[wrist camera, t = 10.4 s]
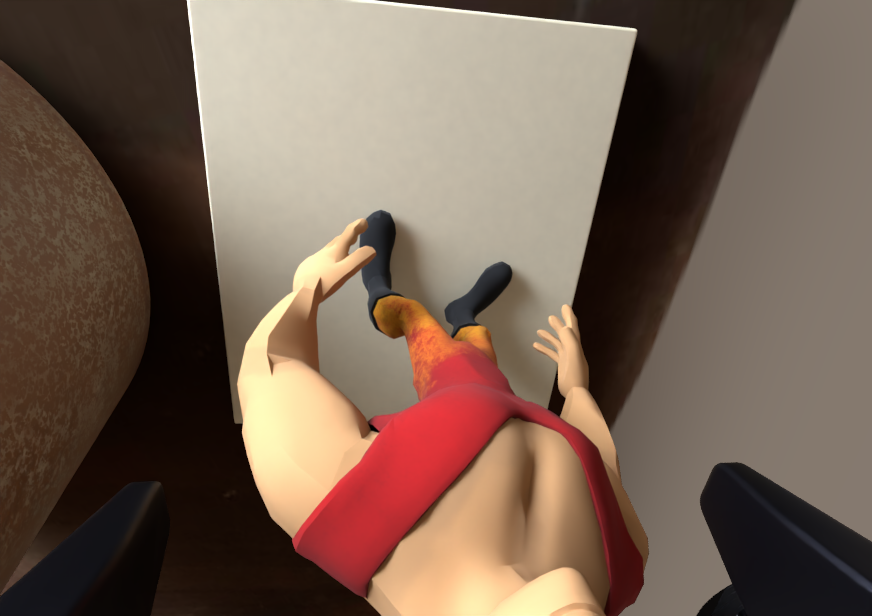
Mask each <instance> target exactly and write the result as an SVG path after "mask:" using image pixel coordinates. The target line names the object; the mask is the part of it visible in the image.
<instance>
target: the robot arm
mask: <svg viewBox="0 0 872 616" xmlns="http://www.w3.org/2000/svg"><path fill="white" fill-rule="evenodd" d="M700 505H701V510H702V512H703V515H704V517H705V520H706V522H707V524H708V527H709V529H710V531H711V534H712V536H713V539H714V541H715V544H716V546H717V548H718V551H719V553H720V555H721V558H722V560H723V563H724V565H725V567H726V570H727V572H728V574H729V577H730V579H731V582H732V584H733V586H734V588H735V591H736V593H737V595H738V597H739V599H740V601H741V603H742V605H743V607H744V609H743V610H741V611H740V612H739V613H738V615H737V616H872V542H871V541H870V540H868V539H866V538H865V537H863V536H861V535H860V534H858V533H857V532H855V531H853V530H852V529H850V528H848V527H846V526H845V525H843V524H842V523H840V522H838V521H837V520H835V519H833V518H832V517H830V516H828V515H827V514H825V513H824V512H822V511H820V510H819V509H817V508H815V507H814V506H812V505H810V504H809V503H807V502H805V501H804V500H802V499H801V498H799V497H797V496H796V495H794V494H792V493H791V492H789V491H787V490H786V489H784V488H782V487H781V486H779V485H778V484H776V483H774V482H773V481H771V480H769V479H768V478H766V477H764V476H763V475H761V474H759V473H758V472H756V471H755V470H753V469H751V468H750V467H748V466H746V465H744V464H742V463H737V462H736V463H719V464H717V465H716V466H715V467H714V468H713V470H712V472H711V474H710V476H709V478H708V481H707V483H706V485H705V487H704V489H703V492H702V494H701V498H700ZM169 531H170V518H169V513H168V508H167V504H166V499H165V494H164V489H163V486H162V485H161V483H160V482H157V481H145V482H132V483H129V484H128V485H126V486H125V487H124V488H122V489H121V490H120V491H119V492H118V493H117V494H116V495H115V496H113V497H112V498H111V499H110V500H109V501H108V502H107V503H106V504H104V505H103V506H102V507H101V508H100V509H99V510H98V511H96V512H95V513H94V514H93V515H92V516H91V517H90V518H89V519H87V520H86V521H85V522H84V523H83V524H82V525H81V526H80V527H78V528H77V529H76V530H75V531H74V532H73V533H72V534H71V535H69V536H68V537H67V538H66V539H65V540H64V541H63V542H61V543H60V544H59V545H58V546H57V547H56V548H55V549H54V550H52V551H51V552H50V553H49V554H48V555H47V556H46V557H45V558H43V559H42V560H41V561H40V562H39V563H38V564H37V565H36V566H34V567H33V568H32V569H31V570H30V571H29V572H28V573H27V574H25V575H24V576H23V577H22V578H21V579H20V580H19V581H17V582H16V583H15V584H14V585H13V586H12V587H11V588H10V589H8V590H7V591H6V592H5V593H4V594H3V595H2V596H1V597H0V616H150V615H151V611H152V606H153V602H154V598H155V593H156V589H157V585H158V580H159V576H160V572H161V567H162V563H163V559H164V554H165V550H166V546H167V541H168V537H169Z"/></svg>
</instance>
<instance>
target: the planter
mask: <svg viewBox="0 0 872 616" xmlns="http://www.w3.org/2000/svg"><path fill="white" fill-rule="evenodd" d="M149 323H150V289H149V280H148V274H147V268H146V264H145V260H144V256H143V252H142V248H141V245H140V242H139V239H138V236H137V233H136V231H135V228H134V226H133V223H132V221H131V218H130V216H129V214H128V212H127V210H126V208H125V206H124V203H123V202H122V200H121V198H120V196H119V194H118V192H117V191H116V189H115V187H114V185H113V184H112V182H111V180H110V179H109V177H108V176H107V174H106V172H105V171H104V169H103V168H102V166H101V165H100V164H99V162H98V161H97V159H96V158H95V156H94V155H93V154H92V152H91V151H90V150H89V148H88V147H87V146H86V144H85V143H84V142H83V141H82V139H81V138H80V137H79V136H78V134H77V133H76V132H75V131H74V130H73V129H72V127H71V126H70V125H69V124H68V123H67V122H66V121H65V119H64V118H63V117H62V116H61V115H60V114H59V113H58V112H57V111H56V110H55V109H54V108H53V107H52V106H51V105H50V104H49V103H48V102H47V100H46V99H45V98H43V97H42V96H41V95H40V94H39V93H38V92H37V91H36V90H35V89H34V88H33V87H32V86H31V85H30V84H29V83H28V82H26V81H25V80H24V79H23V78H22V77H21V76H19V75H18V74H17V73H16V72H15V71H14V70H12V69H11V68H10V67H9V66H8V65H7V64H5V63H4V62H3V61H1V60H0V594H1V592H2V590H3V589H4V587H5V586H6V584H7V582H8V581H9V579H10V577H11V576H12V574H13V573H14V571H15V569H16V568H17V566H18V564H19V563H20V561H21V560H22V558H23V556H24V555H25V553H26V552H27V550H28V548H29V547H30V545H31V543H32V542H33V540H34V539H35V537H36V535H37V534H38V532H39V530H40V529H41V527H42V526H43V524H44V522H45V521H46V519H47V517H48V516H49V514H50V513H51V511H52V509H53V508H54V506H55V505H56V503H57V501H58V500H59V498H60V496H61V495H62V493H63V492H64V490H65V488H66V487H67V485H68V483H69V482H70V480H71V479H72V477H73V475H74V474H75V472H76V470H77V469H78V467H79V466H80V464H81V462H82V461H83V459H84V458H85V456H86V454H87V453H88V451H89V449H90V448H91V446H92V445H93V443H94V441H95V440H96V438H97V436H98V435H99V433H100V432H101V430H102V428H103V427H104V425H105V423H106V422H107V420H108V419H109V417H110V415H111V414H112V412H113V411H114V409H115V407H116V406H117V404H118V402H119V401H120V399H121V398H122V396H123V394H124V393H125V391H126V389H127V388H128V386H129V384H130V383H131V381H132V379H133V377H134V376H135V373H136V371H137V369H138V367H139V364H140V362H141V359H142V356H143V353H144V350H145V346H146V342H147V337H148V331H149Z"/></svg>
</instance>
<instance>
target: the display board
mask: <svg viewBox="0 0 872 616" xmlns="http://www.w3.org/2000/svg"><path fill="white" fill-rule="evenodd" d="M187 3H188V12H189V21H190V30H191V39H192V48H193V57H194V66H195V75H196V84H197V93H198V102H199V111H200V120H201V128H202V137H203V146H204V155H205V164H206V173H207V182H208V191H209V200H210V209H211V218H212V227H213V236H214V245H215V254H216V263H217V272H218V281H219V290H220V299H221V308H222V316H223V325H224V334H225V343H226V352H227V361H228V370H229V379H230V388H231V397H232V406H233V415H234V422H235V423H236V424H238V423H243V417H242V411H241V405H240V399H239V393H238V387H237V382H238V378H239V373H240V369H241V364H242V360H243V355H244V351H245V346H246V343H247V342H248V340H249V339H250V337H251V336H252V334H253V333H254V331H255V330H256V328H257V327H258V325H259V323H260V322H261V321H262V320H263V318H264V317H265V316H266V315H267V314H268V313H269V312H270V311H271V310H272V309H273V308H274V307H275V306H276V305H277V304H278V303H279V302H280V301H281V300H282V299H284V298H285V297H286V296H287V295H289V294H290V293H292V292H293V281H294V276H295V274H296V271H297V269H298V267H299V265H300V264H301V263H302V262H303V261H305V260H306V259H307V258H308V257H310V256H313V255H314V254H316V253H317V252H319V251H320V250H322V249H323V248H324V247H325V246H326V245H327V244H328V243H330V242H331V241H332V240H333V239H334V238H335V237H337V236H340V235H342V233H343V232H344V231H345V229H346V227H347V226H348V225H349V224H351V223H353V222H355V221H356V220H358V219H361V218H362V219H365V220H366V218H367V217H368V216H370V215H371V214H372V213H373V212H376V211H378V210H383V211H386V212H389V213H390V214H391V216H392V218H393V220H394V223H395V227H396V237H395V243H394V247H393V250H392V253H391V259H390V273H391V280H392V283H391V285H392V288H391V290H392V291H394V292H396V293H399V294H401V295H402V296H404V297H405V298H406V299H412V300H416V301H418V302H420V303H421V304H422V305H423V306H424V307H425V308H426V309H427V310H428V312H429V313H430V314H431V315H432V316H433V317H434V318H435V319H436V320H437V321H438V322H439V323H440V325H441V326H442V327H443V328H444V329H445V330H446V332H447V333H448V334H449V335H450V336H451V334H452V332H453V325H451V324H450V323H448V322H447V321H446V318H445V312H444V310H445V308H446V307H447V306H448V304H449V303H451V302H452V301H454V300H456V299H458V298H461V297H462V296H464V295H465V294H467V293H468V292H469V291H470V290H471V289H472V288H473V286H474V285H475V284H476V282H477V280H478V279H479V277H480V276H481V274H482V273H483V272H484V270H485V269H486V268H488V267H489V266H491V265H493V264H495V263H498V262H501V261H503V262H504V263H506V264H508V265H510V267H511V269H512V272H513V275H512V279H511V281H510V283H509V284H508V286H507V287H506V289H505V290H504V291H503V292H502V293H501V294H500V295H499V297H498V298H497V299H496V300H495V301H494V302H493V303H492V304H490V305H489V306H488V307H487V308H486V309H485V310H483V311H482V312H481V313H479V314H478V315H477V316H476V317H475V322H477V323H478V324H480V325H482V326H484V327H487V329H488V330H489V331H490V333H491V340H492V345H493V348H494V351H495V354H496V357H497V364H498V368H499V370H500V371H501V372H502V373H503V374H504V376H505V377H506V378H507V379H508V382H509V385H510V387H511V389H512V390H513V392H514V393H515V395H516V396H518V397H520V398H522V399H524V400H525V401H530V402H533V403H536V404H538V405H540V406H542V407H544V408H546V409H548V405H549V401H550V396H551V392H552V388H553V384H554V380H555V375H556V371H557V367H558V363H556V362H555V361H553V360H552V359H551V358H549V357H548V356H547V355H544V354H542V353H540V352H538V351H537V350H536V349H534V347H533V344H534V343H535V342H536V343H540V344H542V345H543V346H546V347H548V348H551V349H553V350H555V351H556V352H557V353H558V351H557V349H556V348H555V347H554V346H553V345H551V344H550V343H548V342H546V341H545V340H543V339H542V338H541V337H540V336H538V334H537V331H538V330H540V329H541V330H546V331H548V332H550V333H551V334H552V335H553V336H555V337H556V338H557V339H559V337H558V334H557V332H556V331H555V330H554V329H553V328H552V327H551V326H550V324H549V320H548V319H549V316H551V315H554V316H556V317H558V318H559V319H560V320H561V322H562V323H563V324H564V326H566V323H565V320H564V318H563V317H562V311H561V310H562V306H563V305H566V304H568V305H569V306H571V308H572V304H573V300H574V296H575V292H576V287H577V283H578V279H579V275H580V271H581V266H582V262H583V258H584V254H585V250H586V245H587V241H588V237H589V233H590V229H591V224H592V220H593V216H594V212H595V208H596V204H597V199H598V195H599V191H600V187H601V183H602V178H603V174H604V170H605V166H606V162H607V157H608V153H609V149H610V145H611V141H612V136H613V132H614V128H615V124H616V120H617V115H618V111H619V107H620V103H621V99H622V95H623V90H624V86H625V82H626V78H627V74H628V69H629V65H630V61H631V57H632V53H633V48H634V44H635V40H636V36H637V30H636V29H634V28H624V27H615V26H606V25H597V24H587V23H578V22H569V21H559V20H550V19H541V18H531V17H522V16H513V15H504V14H494V13H485V12H476V11H466V10H457V9H448V8H439V7H429V6H420V5H411V4H401V3H392V2H383V1H373V0H187ZM359 242H360V235H358V239H357V242H356V243H355V244H354V245H351V246H350V249H349V252H348V254H349V255H351V254H352V253H353V252H355V251H356V250H357V249H359ZM368 298H369V295H368V291H367V289H366V288H365V286H364V284H363V281H362V274H361V269H360V270H359V271H358V272H357V273H356V274H355V275H354V276H352V277H351V278H350V279H348V280H347V281H346V282H345V284H344V285H343V286H342V287H341V288H339V289H338V290H337V291H336V292H335V293H334V294H333V295H331V296H330V297H328V298H327V299H326V300H324V301H323V302H321V303H320V304H319V306H318V312H317V335H318V358H319V370H320V374H322V375H323V376H324V377H325V378H326V379H328V380H329V381H330V382H331V383H332V384H333V385H334V386H335V387H337V388H338V389H339V390H340V391H341V392H342V393H343V394H344V395H345V396H346V397H347V398H348V399H349V400H350V401H351V402H352V403H353V404H354V405H355V406H356V407H357V408H358V409H359V410H360V411H361V413H362V414H363V415H364V416H365V418H366V420H367V421H369V420H370V419H371V418H373V417H374V416H378V415H387V414H394V413H397V412H400V411H403V410H405V409H407V408H409V407H411V406H413V405H415V404H416V403H418V402H420V401H419V399H418V394H417V391H416V389H415V388H414V386H413V376H414V373H413V369H412V364H411V359H410V354H409V349H408V345H407V341H406V338H405V336H402V337H399V338H396V339H392V338H390V337H388V336H386V335H385V334H383V333H381V332H380V331H378V330H376V329H375V327H374V325H373V324H372V322H371V320H370V318H369V311H368V305H367V303H368ZM559 340H560V339H559Z"/></svg>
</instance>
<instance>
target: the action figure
mask: <svg viewBox="0 0 872 616" xmlns="http://www.w3.org/2000/svg"><path fill="white" fill-rule="evenodd" d="M358 235H360V242H359V249H357V250H356V251H355V252H353V253H352V254H351V255H349V254H348V252H349V249H350V246H351V245H354V244H355V243H356V242H357V239H358ZM395 237H396V227H395V223H394V220H393V218H392V216H391V214H390V213H389V212H386V211H383V210H378V211H376V212H373V213H372V214H371V215H370V216H368V217H367V218H366V220H365V219H362V218H361V219H358V220H356V221H355V222H353V223H351V224H349V225H348V226H347V227H346V229H345V231H344V232H343V233H342V235H340V236H337V237H335V238H334V239H333V240H332V241H331V242H330V243H328V244H327V245H326V246H325V247H324V248H323V249H322V250H320V251H319V252H317V253H316V254H314V255H313V256H310V257H308V258H307V259H306V260H305V261H303V262H302V263H301V264H300V265H299V267H298V269H297V271H296V274H295V276H294V281H293V292H292V293H290V294H289V295H287V296H286V297H285V298H284V299H282V300H281V301H280V302H279V303H278V304H277V305H276V306H275V307H274V308H273V309H272V310H271V311H270V312H269V313H268V314H267V315H266V316H265V317H264V318H263V320H262V321H261V322H260V323H259V325H258V327H257V328H256V330H255V331H254V333H253V334H252V336H251V337H250V339H249V340H248V342H247V343H246V346H245V351H244V355H243V360H242V364H241V369H240V373H239V378H238V382H237V387H238V393H239V399H240V405H241V411H242V417H243V427H242V435H243V439H244V444H245V448H246V453H247V457H248V460H249V463H250V467H251V470H252V473H253V476H254V480H255V483H256V486H257V488H258V490H259V492H260V494H261V496H262V499H263V501H264V503H265V505H266V507H267V509H268V511H269V514H270V516H271V518H272V519H273V520H274V521H275V522H276V523H277V524H278V525H279V526H280V527H281V528H283V529H284V530H285V531H286V532H287V533H288V534H289V535H290V536H291V537H292V538H293V539H292V542H293V545H294V548H295V551H296V552H297V553H299V554H300V555H302V556H303V557H305V558H307V559H309V560H311V561H313V562H314V563H315V564H317V565H318V566H319V567H320V568H322V569H323V570H324V571H325V572H327V573H328V574H329V575H331V576H332V577H333V578H334V579H336V580H337V581H338V582H340V583H341V584H342V585H344V586H345V587H347V588H348V589H349V590H351V591H352V592H354V593H355V594H357V595H359V596H362V597H364V598H365V599H366V600H367V601H368V602H369V603H370V604H371V605H372V606H373V607H374V608H375V609H376V610H377V611H378V612H379V613H380V614H381V615H382V616H618V615H619V614H620V613H621V612H622V611H623V610H624V609H625V608H626V607H628V606H630V605H631V604H633V603H635V601H636V598H637V597H638V595H639V593H640V591H641V589H642V586H643V585H644V577H643V576H644V575H643V573H644V569H645V565H646V562H647V558H648V555H649V549H648V538H647V536H646V534H645V531H644V529H643V527H642V526H641V523H640V521H639V519H638V517H637V515H636V513H635V511H634V508H633V506H632V504H631V502H630V500H629V498H628V495H627V493H626V492H625V490H624V488H623V487H622V483H621V475H620V467H619V460H618V456H617V453H616V448H615V446H614V443H613V441H612V438H611V435H610V433H609V430H608V427H607V425H606V423H605V421H604V418H603V416H602V414H601V411H600V409H599V408H598V406H597V404H596V402H595V400H594V398H593V397H592V395H591V394H590V393H589V391H588V385H589V371H588V364H587V361H586V359H585V356H584V353H583V350H582V346H581V343H580V333H579V329H578V323H577V318H576V317H575V315H574V313H573V311H572V308H571V306H569V305H568V304H566V305H563V306H562V310H561V311H562V317H563V318H564V320H565V323H566V326H564V324H563V323H562V322H561V320H560V319H559V318H558V317H556V316H554V315H551V316H549V319H548V320H549V324H550V326H551V327H552V328H553V329H554V330H555V331H556V332H557V334H558V337H559V339H560V340H559V339H557V338H556V337H555V336H553V335H552V334H551V333H550V332H548V331H546V330H541V329H540V330H538V331H537V334H538V336H540V337H541V338H542V339H543V340H545V341H546V342H548V343H550V344H551V345H553V346H554V347H555V348H556V349H557V351H558V353H557V352H556V351H555V350H553V349H551V348H548V347H546V346H543V345H542V344H540V343H536V342H535V343H534V344H533V347H534V349H536V350H537V351H538V352H540V353H542V354H544V355H547V356H548V357H549V358H551V359H552V360H553V361H555V362H556V363H558V388H559V391H560V393H561V394H562V395H563V396H564V397H565V398H566V400H565V403H564V406H563V410H562V413H561V415H560V417H559V416H557V415H556V414H555V413H553V412H552V411H550V410H548V409H546V408H544V407H542V406H540V405H538V404H536V403H533V402H530V401H525V400H524V399H522V398H520V397H518V396H516V395H515V393H514V392H513V390H512V389H511V387H510V385H509V382H508V379H507V378H506V377H505V376H504V374H503V373H502V372H501V371H500V370H499V368H498V364H497V357H496V354H495V351H494V348H493V345H492V340H491V333H490V331H489V330H488V329H487V327H484V326H482V325H480V324H478V323H477V322H475V317H476V316H477V315H478V314H479V313H481V312H482V311H483V310H485V309H486V308H487V307H488V306H489V305H490V304H492V303H493V302H494V301H495V300H496V299H497V298H498V297H499V295H500V294H501V293H502V292H503V291H504V290H505V289H506V287H507V286H508V284H509V283H510V281H511V279H512V275H513V272H512V269H511V267H510V265H508V264H506V263H504V262H503V261H501V262H498V263H495V264H493V265H491V266H489V267H488V268H486V269H485V270H484V272H483V273H482V274H481V276H480V277H479V279H478V280H477V282H476V284H475V285H474V286H473V288H472V289H471V290H470V291H469V292H468V293H467V294H465V295H464V296H462V297H461V298H458V299H456V300H454V301H452V302H451V303H449V304H448V306H447V307H446V308H445V310H444V312H445V318H446V321H447V322H448V323H450V324H451V325H453V332H452V334H451V336H450V335H449V334H448V333H447V332H446V330H445V329H444V328H443V327H442V326H441V325H440V323H439V322H438V321H437V320H436V319H435V318H434V317H433V316H432V315H431V314H430V313H429V312H428V310H427V309H426V308H425V307H424V306H423V305H422V304H421V303H420V302H418V301H416V300H412V299H406V298H405V297H404V296H402V295H401V294H399V293H396V292H394V291H392V290H391V288H392V285H391V283H392V280H391V273H390V259H391V253H392V250H393V247H394V243H395ZM360 269H361V274H362V281H363V284H364V286H365V288H366V289H367V291H368V295H369V298H368V303H367V305H368V311H369V318H370V320H371V322H372V324H373V325H374V327H375V329H376V330H378V331H380V332H381V333H383V334H385V335H386V336H388V337H390V338H392V339H396V338H399V337H402V336H405V338H406V341H407V345H408V349H409V354H410V359H411V364H412V369H413V373H414V376H413V386H414V388H415V389H416V391H417V394H418V399H419V401H420V402H418V403H416V404H415V405H413V406H411V407H409V408H407V409H405V410H403V411H400V412H397V413H394V414H387V415H378V416H374V417H373V418H371V419H370V420H369V421H367V420H366V418H365V416H364V415H363V414H362V413H361V411H360V410H359V409H358V408H357V407H356V406H355V405H354V404H353V403H352V402H351V401H350V400H349V399H348V398H347V397H346V396H345V395H344V394H343V393H342V392H341V391H340V390H339V389H338V388H337V387H335V386H334V385H333V384H332V383H331V382H330V381H329V380H328V379H326V378H325V377H324V376H323V375H322V374H320V370H319V358H318V335H317V312H318V306H319V304H320V303H321V302H323V301H324V300H326V299H327V298H328V297H330V296H331V295H333V294H334V293H335V292H336V291H337V290H338V289H339V288H341V287H342V286H343V285H344V284H345V282H346V281H347V280H348V279H350V278H351V277H352V276H354V275H355V274H356V273H357V272H358V271H359V270H360Z"/></svg>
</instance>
